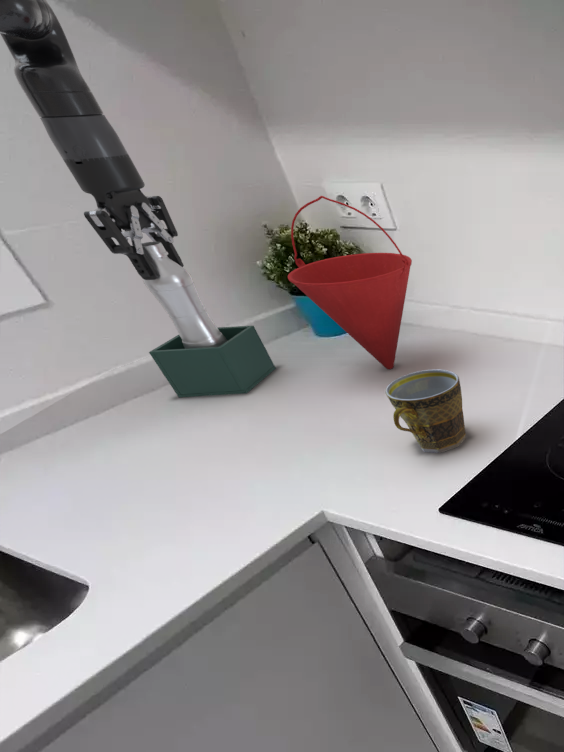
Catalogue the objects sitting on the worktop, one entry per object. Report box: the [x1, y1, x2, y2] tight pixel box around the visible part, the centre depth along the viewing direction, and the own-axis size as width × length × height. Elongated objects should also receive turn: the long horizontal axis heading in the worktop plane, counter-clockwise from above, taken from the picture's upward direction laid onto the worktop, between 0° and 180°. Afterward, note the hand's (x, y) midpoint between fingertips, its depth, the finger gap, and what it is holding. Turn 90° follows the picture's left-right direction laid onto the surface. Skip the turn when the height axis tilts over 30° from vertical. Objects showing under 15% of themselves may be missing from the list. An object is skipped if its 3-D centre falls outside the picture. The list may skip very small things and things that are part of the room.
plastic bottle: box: [141, 241, 228, 349], centre depth 95 cm, size 6×7×20 cm
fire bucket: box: [287, 195, 413, 370], centre depth 98 cm, size 22×20×30 cm
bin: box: [148, 325, 277, 398], centre depth 101 cm, size 12×11×9 cm
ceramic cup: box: [385, 368, 467, 454], centre depth 81 cm, size 13×10×10 cm
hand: (164, 273), depth 91 cm, fingers closed on plastic bottle, 6 cm apart
